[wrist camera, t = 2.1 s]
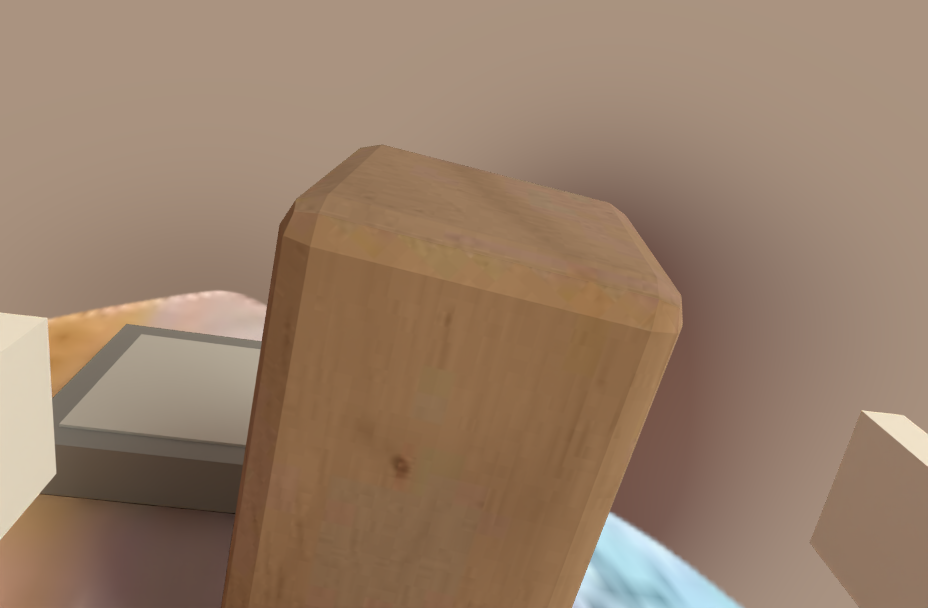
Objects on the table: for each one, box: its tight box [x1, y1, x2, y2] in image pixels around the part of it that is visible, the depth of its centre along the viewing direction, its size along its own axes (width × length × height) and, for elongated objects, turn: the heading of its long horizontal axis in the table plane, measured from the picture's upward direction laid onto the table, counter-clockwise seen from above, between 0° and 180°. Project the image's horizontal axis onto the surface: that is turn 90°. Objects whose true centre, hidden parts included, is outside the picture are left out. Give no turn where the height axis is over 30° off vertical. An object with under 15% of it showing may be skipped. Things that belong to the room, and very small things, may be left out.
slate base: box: [40, 324, 262, 513], centre depth 41 cm, size 14×14×3 cm
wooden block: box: [221, 145, 683, 608], centre depth 24 cm, size 10×10×20 cm
